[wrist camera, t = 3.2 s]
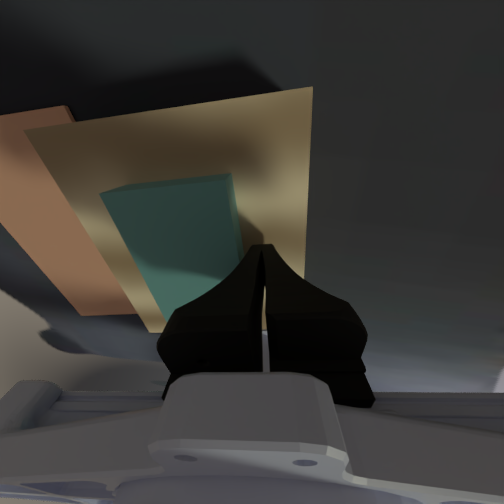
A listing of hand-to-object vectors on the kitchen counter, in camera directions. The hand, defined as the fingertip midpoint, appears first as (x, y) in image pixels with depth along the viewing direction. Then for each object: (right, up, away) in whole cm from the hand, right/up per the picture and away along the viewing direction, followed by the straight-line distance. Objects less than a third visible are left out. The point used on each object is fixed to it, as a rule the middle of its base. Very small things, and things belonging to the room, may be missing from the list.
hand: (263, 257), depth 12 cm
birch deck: (-4, +2, +4) cm, 6 cm away
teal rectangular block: (-4, 0, +1) cm, 4 cm away
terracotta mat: (-17, +1, +6) cm, 18 cm away
